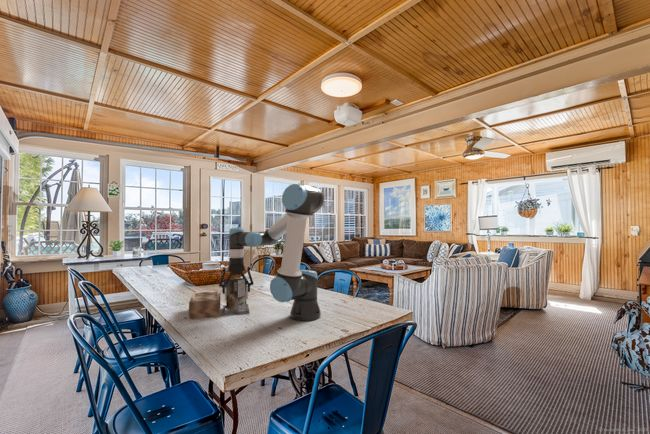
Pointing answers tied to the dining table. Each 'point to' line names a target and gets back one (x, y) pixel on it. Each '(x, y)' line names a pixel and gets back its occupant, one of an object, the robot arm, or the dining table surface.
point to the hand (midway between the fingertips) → (236, 299)
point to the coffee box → (236, 294)
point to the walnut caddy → (209, 305)
